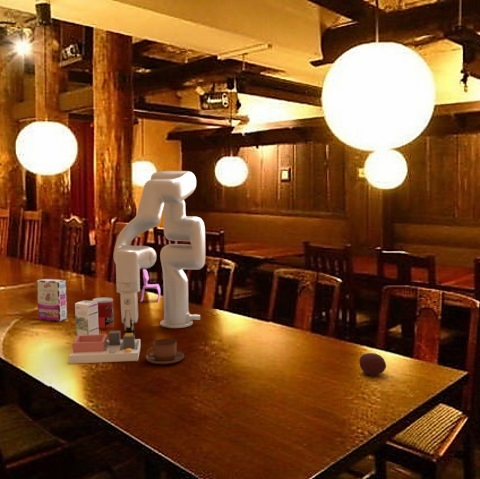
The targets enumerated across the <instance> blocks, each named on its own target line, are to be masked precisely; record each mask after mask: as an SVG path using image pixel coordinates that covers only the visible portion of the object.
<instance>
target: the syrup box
mask: <svg viewBox="0 0 480 479" xmlns="http://www.w3.org/2000/svg"><path fill="white" fill-rule="evenodd" d="M74 311H75V312H74V313H75V315H74V316H75V332H76V333H75V336H76V337H77V335H98V334H100V330H99V326H98V302H95V301H92V300H81V301H78V302H75V303H74ZM76 337H75V338H76Z"/></svg>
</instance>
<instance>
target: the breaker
mask: <svg viewBox="0 0 480 479" xmlns="http://www.w3.org/2000/svg"><path fill="white" fill-rule="evenodd" d="M108 340H109V345H120V343H121V340H122V338H121V330H109V332H108Z"/></svg>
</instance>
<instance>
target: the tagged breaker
mask: <svg viewBox="0 0 480 479" xmlns="http://www.w3.org/2000/svg"><path fill="white" fill-rule="evenodd" d="M135 337H136V333H135V334H133V333H125V335H124V334H123V337H122V340H123V346H124V349H127V348H131V349H134V348H135V339H136V338H135Z"/></svg>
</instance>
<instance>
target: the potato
mask: <svg viewBox="0 0 480 479" xmlns="http://www.w3.org/2000/svg"><path fill="white" fill-rule="evenodd" d="M358 361H359V366H360V369H361V370H362V372H363V373H365V374H366V375H369V376H377V375H378V376H379V375H381V374H383V373H384V371H385V370H386V368H387V364H386V360H385V359H384V357H382V355H381V354H380V355H379V354H378V353H374V352H368V353H363V354H362V355H361V356H360V357H359V360H358Z"/></svg>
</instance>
